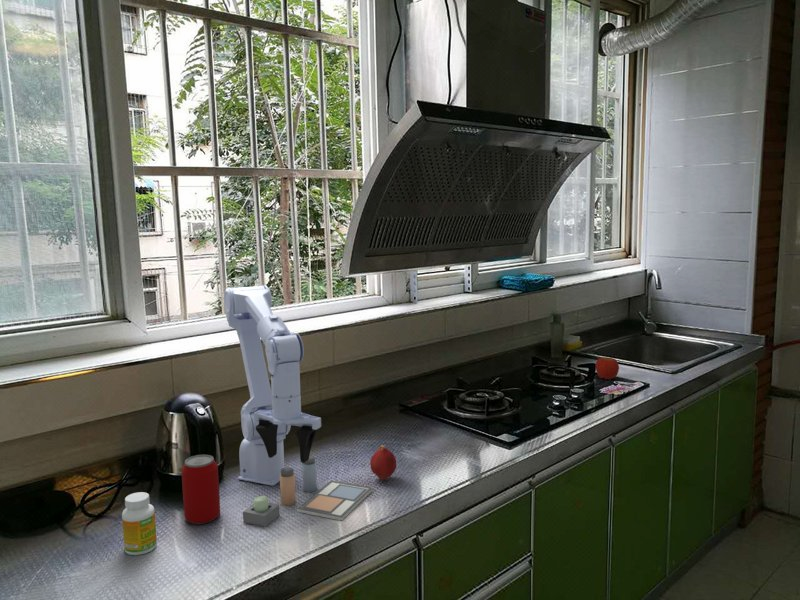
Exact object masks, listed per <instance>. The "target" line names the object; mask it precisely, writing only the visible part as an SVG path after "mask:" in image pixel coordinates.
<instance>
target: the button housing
mask: <svg viewBox="0 0 800 600" xmlns="http://www.w3.org/2000/svg"><path fill="white" fill-rule="evenodd" d="M268 507H269V509H267V510H266V511H265V512H264V513H262V512H257V511H254V503H252V504H251V505H250V506H248V507H247V508H245V509H243V511H242V520H243V521H242V522H243V523H245V524H250V525H255V526H261V527H264V528H266V527H267V526H268V525H269V524H271V523H272V522H273V521H275V520H276V519H277V518H278V517H280V515H281V513H280V503H279V504H278V503H273V502H269V501H268Z"/></svg>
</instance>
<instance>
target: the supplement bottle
mask: <svg viewBox="0 0 800 600" xmlns="http://www.w3.org/2000/svg"><path fill="white" fill-rule="evenodd" d="M124 505H125V508H124V509H123V511H122V513H121V521H122V523H121V525H122V534H123V536H122V537H123V549H124V551H125V553H126V554H127V555H129V556H140V555H141V556H142V555H144V554H147V553H149V552H151V551H153V550H155V548H156V546H157V540H158V539H157V528H156V527H157V526H156V525H157V524H156V515H155V514H156V511H155V507H154V505H152V504H151V502H150V494H149V493H147V492H143V491H140V492H139V491H138V492H133V493H130V494H128V495H127V496H126V497H125V498H124Z"/></svg>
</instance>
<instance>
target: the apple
mask: <svg viewBox="0 0 800 600" xmlns="http://www.w3.org/2000/svg"><path fill="white" fill-rule="evenodd" d="M619 369H620V364H619V362H618V360H617V359H616V358H613V357H609V356H606V357H599V358H598V359H596V362H595V371H596V373H597V376H598V377H599V378H600V379H602V378H605V379H604V380H607V379H608V380H612V379H611V378H613V379H615V378H617V377H618V376H617V375H618V374H619V371H620V370H619Z"/></svg>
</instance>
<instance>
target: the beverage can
mask: <svg viewBox="0 0 800 600" xmlns="http://www.w3.org/2000/svg"><path fill="white" fill-rule="evenodd" d="M219 479H220V478H219V466H218V464H217V462H216V461H215V458H214V456H213V455H210V454H196V455H192V456H190V457H188V458H186V459H185V460H184V464H183V466H182V468H181V483H182V484H181V485H182V499H183V500H182V501H183V514H184V519H185V520H186V521H187V522H189V523H192V524H194V525H204V524H205V525H206V524H207V523H211V522H212V521H214V520H215V519H217V517H219V515H220V513H221V501H220V500H221V499H220V482H219Z"/></svg>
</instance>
